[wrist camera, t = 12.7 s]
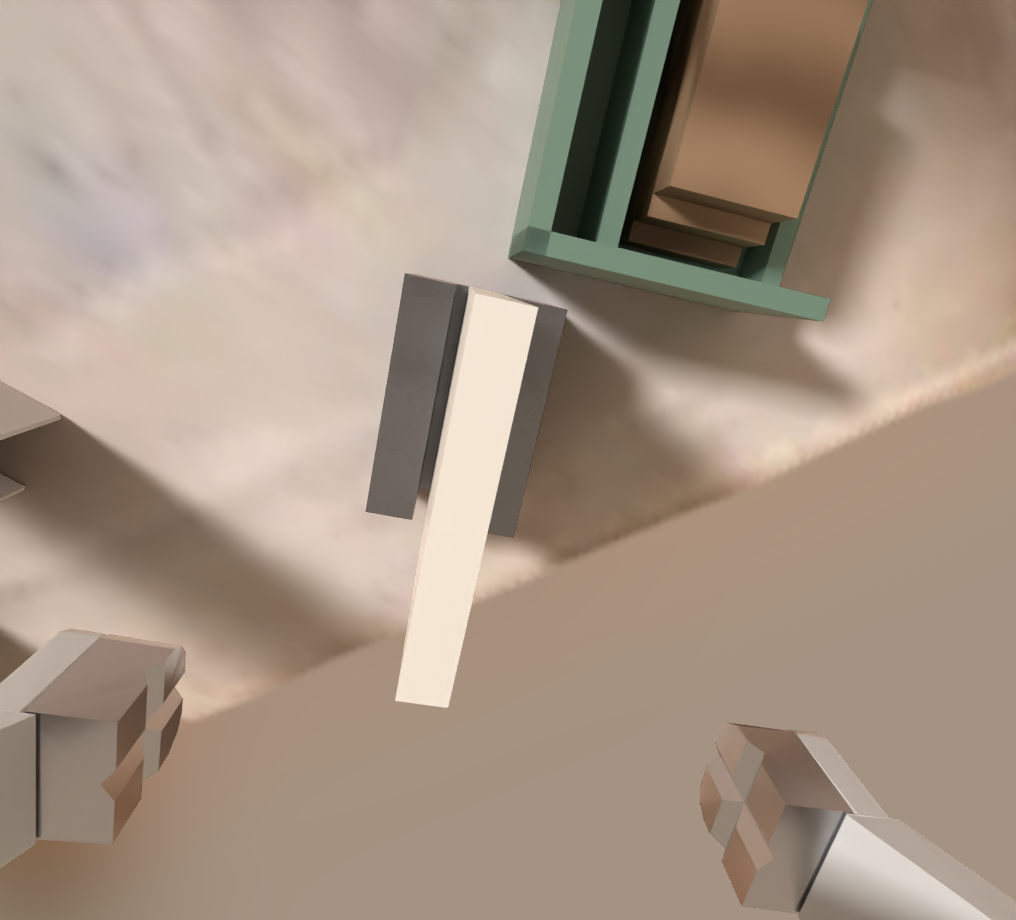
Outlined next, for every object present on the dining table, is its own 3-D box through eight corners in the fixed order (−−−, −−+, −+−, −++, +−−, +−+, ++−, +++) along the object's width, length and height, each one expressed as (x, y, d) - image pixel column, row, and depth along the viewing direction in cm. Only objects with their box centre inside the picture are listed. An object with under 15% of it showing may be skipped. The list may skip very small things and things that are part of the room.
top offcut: (718, -56, 26) (743, -89, 23) (846, -16, 26) (882, -44, 24) (653, 193, 28) (670, 185, 26) (771, 223, 29) (797, 218, 27)
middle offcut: (704, -54, 28) (726, -84, 25) (823, -16, 28) (854, -42, 26) (633, 220, 31) (647, 215, 28) (742, 247, 32) (764, 244, 29)
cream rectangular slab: (469, 286, 33) (475, 293, 15) (497, 292, 33) (538, 307, 15) (429, 489, 36) (395, 700, 18) (456, 494, 36) (448, 708, 18)
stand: (414, 274, 34) (402, 272, 28) (550, 305, 35) (569, 310, 29) (380, 472, 37) (363, 511, 31) (506, 495, 38) (514, 537, 32)
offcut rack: (587, -123, 29) (637, -290, 21) (846, -39, 31) (992, -161, 22) (507, 257, 34) (522, 250, 26) (736, 311, 36) (822, 321, 27)
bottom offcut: (691, -51, 30) (710, -79, 27) (803, -17, 30) (830, -41, 28) (617, 243, 33) (628, 240, 31) (718, 268, 34) (736, 267, 32)
